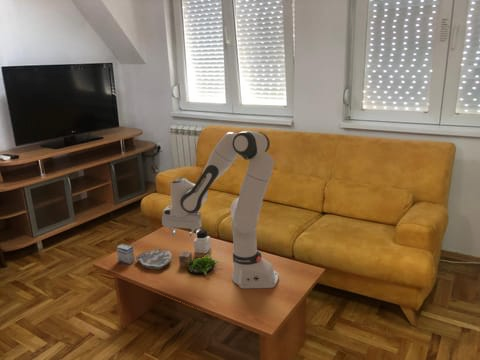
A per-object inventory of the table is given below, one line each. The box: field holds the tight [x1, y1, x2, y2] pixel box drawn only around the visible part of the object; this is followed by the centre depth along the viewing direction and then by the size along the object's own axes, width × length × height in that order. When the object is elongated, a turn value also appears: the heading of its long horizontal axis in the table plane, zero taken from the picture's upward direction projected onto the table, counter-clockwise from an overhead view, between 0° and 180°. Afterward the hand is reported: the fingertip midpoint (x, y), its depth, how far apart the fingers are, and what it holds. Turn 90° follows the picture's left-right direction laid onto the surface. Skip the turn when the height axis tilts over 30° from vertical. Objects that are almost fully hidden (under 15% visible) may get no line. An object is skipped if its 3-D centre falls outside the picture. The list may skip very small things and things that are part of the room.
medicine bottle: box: [193, 228, 212, 254], centre depth 228 cm, size 7×7×12 cm
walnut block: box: [178, 251, 193, 268], centre depth 216 cm, size 5×5×6 cm
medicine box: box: [116, 243, 136, 265], centre depth 221 cm, size 8×4×9 cm, turn 62°
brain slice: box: [135, 248, 172, 271], centre depth 220 cm, size 20×17×3 cm
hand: (182, 235), depth 211 cm, fingers open, 8 cm apart
